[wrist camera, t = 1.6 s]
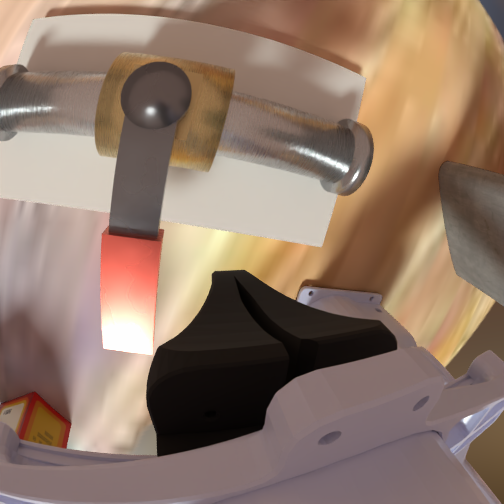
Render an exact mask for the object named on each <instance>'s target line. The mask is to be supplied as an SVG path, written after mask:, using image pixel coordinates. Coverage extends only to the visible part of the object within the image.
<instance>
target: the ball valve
mask: <svg viewBox="0 0 504 504" xmlns="http://www.w3.org/2000/svg"><path fill="white" fill-rule="evenodd" d="M159 61H160V62H168V63H171V64H174V65H176V66H178V67H179V68H181V69H182V70H183V71H184V72H185V73H186V75H187V76H188V78H189V80H190V83H191V89H192V95H191V102H190V106H189V109H188V111H187V113H186V115H185V116H184V117H183V119H182V120H180V121H179V122H178V126H177V130H176V135H175V140H174V144H173V149H172V154H171V160H170V165H169V166H174V167H180V168H186V169H191V170H197V171H202V172H209V170H210V168H211V166H212V164H213V161H214V158H215V155H217V156H222V157H227V158H232V159H236V160H241V161H246V162H250V163H254V164H259V165H263V166H267V167H271V168H275V169H279V170H283V171H287V172H291V173H295V174H299V175H302V176H306V177H310V178H313V179H317V180H320V184H321V186H322V187H323V189H324V190H325V191H327V192H330V193H334V194H337V195H341V196H348V195H350V194H352V193H354V192H355V191H356V190H357V189H358V188H359V187H360V186H361V185H362V183H363V182H364V180H365V178H366V177H367V174H368V172H369V170H370V167H371V163H372V159H373V151H374V145H373V138H372V134H371V132H370V130H369V129H368V128H367V127H366V126H365V125H363V124H361V123H359V122H356V121H354V120H352V119H347V118H346V119H342V120H340V121H339V122H337V123H335V122H333V121H330V120H327V119H325V118H322V117H319V116H316V115H314V114H311V113H308V112H305V111H302V110H299V109H296V108H293V107H290V106H286V105H283V104H280V103H276V102H273V101H270V100H266V99H263V98H259V97H255V96H252V95H248V94H244V93H240V92H236V91H233V86H234V80H235V70H234V69H230V68H226V67H222V66H217V65H212V64H208V63H202V62H197V61H192V60H186V59H180V58H173V57H166V56H159V55H150V54H141V53H129V52H123V53H121V54H119V55H118V56H117V57H116V59H115V60H114V61H113V63H112V65H111V66H110V68H109V70H108V72H100V71H37V72H28V70H27V68H26V67H25V66H23V65H21V64H15V65H7V66H3V67H1V68H0V141H8V140H10V139H12V138H13V137H14V136H15V135H16V134H17V133H18V132H27V133H50V134H66V135H79V136H90V137H95V144H96V149H97V152H98V154H99V155H100V156H104V157H112V158H117V154H118V148H119V142H120V137H121V132H122V126H123V122H124V117H125V114H124V112H123V110H122V107H121V100H120V99H121V91H122V88H123V85H124V83H125V81H126V80H127V78H128V77H129V76H130V74H131V73H133V72H134V71H135V70H136V69H137V68H139V67H141V66H143V65H145V64H148V63H151V62H159Z"/></svg>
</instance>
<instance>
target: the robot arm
mask: <svg viewBox="0 0 504 504" xmlns="http://www.w3.org/2000/svg"><path fill="white" fill-rule="evenodd" d="M310 291H312V293H311V294H308V293H309V292H310ZM370 297H371V298H370ZM381 300H382V295H381V294H379V293H369V292H359V291H348V290H338V289H329V288H319V287H310V286H304V287H302V288H301V289H300V291H299V294H298V297H297V300H296V301H295V300H293V299H291V298H289V297H287V296H285V295H283V294H282V293H280V292H278V291H276V290H275V289H273V288H271V287H270V286H268V285H267V284H265V283H263V282H262V281H260V280H259V279H258V278H256V277H255V276H253V275H252V274H250V273H249V272H247V271H245V270H233V271H215V272H213V273H212V285H211V288H210V291H209V294H208V296H207V299H206V301H205V303H204V305H203V306H202V308H201V310H200V311H199V313H198V314H197V316H196V317H195V318H194V319H193V321H192V322H191V323H190V324H189V325H188V326H187V327H186V328H185V329H184V330H183V331H182V332H181V333H180V334H178V335H177V336H176V337H174V338H173V339H171V340H169V341H168V342H166V343H164V344H163V345H161V346H159V347H158V348H157V351H156V353H155V356H154V358H153V361H152V364H151V367H150V371H149V375H148V380H147V392H146V400H147V407H148V411H149V414H150V417H151V420H152V423H153V425H154V428H155V431H156V434H157V455H123V454H108V453H97V452H87V451H79V450H72V449H65V448H59V447H54V446H48V445H43V444H38V443H34V442H29V441H25V440H21V439H20V438H19V437H18V435H17V434H16V432H15V431H14V430H13V429H12V428H11V427H10V426H9V425H7V424H6V423H4V422H2V421H0V504H501V503H500V501H499V500H498V499H497V498H496V496H495V495H494V494H493V492H492V491H491V490H490V489H489V487H488V486H487V485H486V484H485V482H484V481H483V480H482V479H481V477H480V476H479V475H478V474H477V472H476V471H475V470H474V469H473V468H472V466H471V465H470V464H469V463H468V462H467V460H466V459H465V457H466V454H467V450H468V448H469V445H470V442H471V441H472V440H474V439H475V438H476V437H477V436H479V435H480V434H481V433H482V432H483V431H484V430H485V429H487V428H488V427H489V426H490V425H491V424H492V423H493V422H495V420H496V419H497V418H498V417H499V415H500V414H501V413H502V411H503V410H504V362H503V361H502V360H501V359H500V358H499V357H498V356H497V355H496V354H494V353H493V352H492V351H491V350H488V351H486V352H484V353H483V354H481V355H479V356H478V357H477V358H475V359H474V361H473V362H472V364H471V365H470V367H469V369H468V371H467V373H466V374H464V375H463V376H461V377H459V378H457V379H454V378H453V377H452V376H451V375H450V374H449V372H448V371H447V370H446V369H445V368H444V367H443V365H442V364H441V363H440V362H439V361H438V360H437V359H436V358H435V357H434V356H433V355H432V354H431V353H429V352H428V351H427V350H426V349H425V348H423V347H417V345H416V342H415V340H414V338H413V337H412V335H411V334H410V333H409V332H408V331H407V330H406V329H405V328H404V327H403V326H402V325H401V324H400V323H399V322H398V321H397V320H396V319H395V318H393V317H392V316H391V315H390V314H389V313H388V312H387V311H386V310H385V309H384V308H383V307H382V306H381V305H380V303H381Z"/></svg>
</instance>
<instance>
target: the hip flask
mask: <svg viewBox="0 0 504 504" xmlns="http://www.w3.org/2000/svg"><path fill="white" fill-rule="evenodd" d="M439 186H440V195H441V203H442V210H443V217H444V223H445V229H446V234H447V240H448V245H449V250H450V254H451V258H452V262H453V265H454V268H455V271H456V274H457V275H458V276H459V277H461V278H463V279H464V280H466V281H467V282H469V283H470V284H472V285H473V286H475V287H476V288H478V289H479V290H481V291H482V292H484V293H485V294H487V295H488V296H490V297H491V298H493V299H494V300H496V301H497V302H499V303H500V304H502V305H503V306H504V175H502V174H499V173H495V172H491V171H488V170H484V169H480V168H476V167H472V166H468V165H464V164H459V163H455V162H450V161H446V162H444V163H443V164H442V166H441V168H440V170H439Z"/></svg>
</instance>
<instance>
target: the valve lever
mask: <svg viewBox="0 0 504 504" xmlns="http://www.w3.org/2000/svg"><path fill="white" fill-rule="evenodd" d="M191 95H192V89H191V83H190V80H189V78H188V76H187V75H186V73H185V72H184V71H183V70H182V69H181V68H179V67H178V66H176V65H174V64H171V63H168V62H160V61H159V62H151V63H148V64H145V65H143V66H141V67H139V68H137V69H136V70H135V71H134V72H133V73H131V74H130V76H129V77H128V78H127V80H126V81H125V83H124V85H123V88H122V91H121V99H120V100H121V107H122V110H123V112H124V114H125V117H124V122H123V126H122V132H121V137H120V142H119V148H118V154H117V160H116V167H115V174H114V182H113V190H112V198H111V208H110V220H109V226H108V227H107V228H106V230H105V231H104V232H103V233H102V243H101V317H102V334H103V347H104V348H106V349H113V350H119V351H126V352H134V353H142V354H150V355H152V354H153V342H154V328H155V313H156V300H157V288H158V278H159V268H160V259H161V251H162V242H163V235H164V230H163V229H159V228H160V221H161V214H162V207H163V200H164V194H165V188H166V182H167V176H168V171H169V165H170V160H171V154H172V149H173V144H174V140H175V135H176V130H177V126H178V122H179V121H180V120H182V119H183V117H184V116H185V115H186V113H187V111H188V109H189V106H190V102H191Z"/></svg>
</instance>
